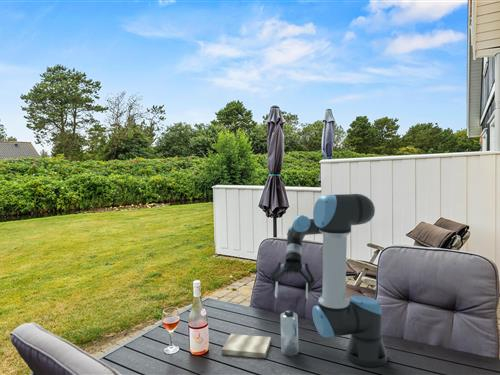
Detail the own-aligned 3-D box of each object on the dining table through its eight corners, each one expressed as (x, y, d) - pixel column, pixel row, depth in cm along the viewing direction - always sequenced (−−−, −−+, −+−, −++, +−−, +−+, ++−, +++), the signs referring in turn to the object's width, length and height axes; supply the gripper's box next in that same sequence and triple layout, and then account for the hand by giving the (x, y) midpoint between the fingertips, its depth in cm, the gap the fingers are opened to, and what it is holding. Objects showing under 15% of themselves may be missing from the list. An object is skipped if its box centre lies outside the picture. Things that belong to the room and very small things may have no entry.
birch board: (270, 341, 149) (270, 337, 149) (265, 358, 135) (265, 353, 135) (231, 338, 153) (231, 333, 153) (221, 354, 139) (221, 349, 139)
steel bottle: (299, 347, 143) (298, 308, 142) (297, 356, 136) (296, 315, 136) (282, 346, 144) (281, 307, 144) (280, 354, 138) (279, 314, 137)
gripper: (320, 260, 165) (320, 302, 150) (269, 258, 170) (264, 299, 156) (319, 251, 159) (319, 294, 145) (267, 250, 165) (262, 291, 151)
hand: (291, 297), depth 150 cm, fingers open, 13 cm apart
